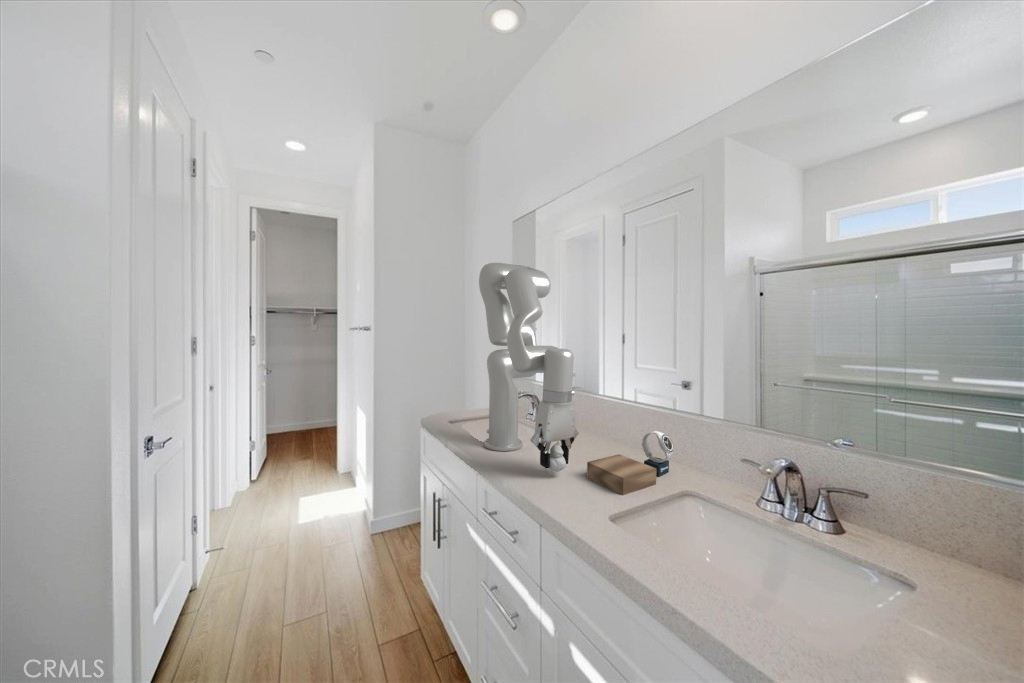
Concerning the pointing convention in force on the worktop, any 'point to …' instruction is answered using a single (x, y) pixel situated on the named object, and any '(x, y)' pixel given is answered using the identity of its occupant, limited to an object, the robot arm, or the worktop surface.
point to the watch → (655, 462)
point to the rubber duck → (557, 458)
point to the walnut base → (621, 473)
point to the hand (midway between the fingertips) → (554, 463)
